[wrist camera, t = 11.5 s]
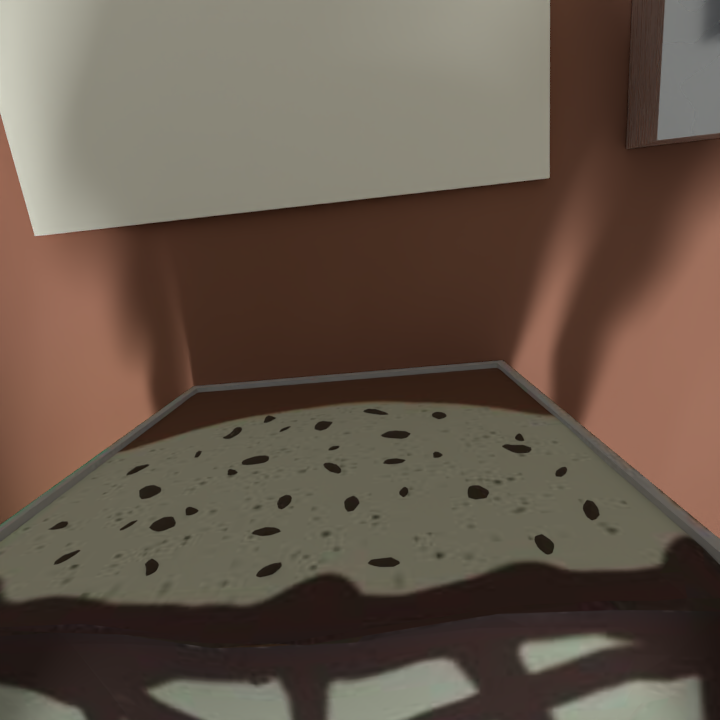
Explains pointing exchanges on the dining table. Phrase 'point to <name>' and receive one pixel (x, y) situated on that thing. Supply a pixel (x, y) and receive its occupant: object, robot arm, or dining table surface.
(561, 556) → the food container
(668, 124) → the panel
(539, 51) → the mat
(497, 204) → the dining table surface
